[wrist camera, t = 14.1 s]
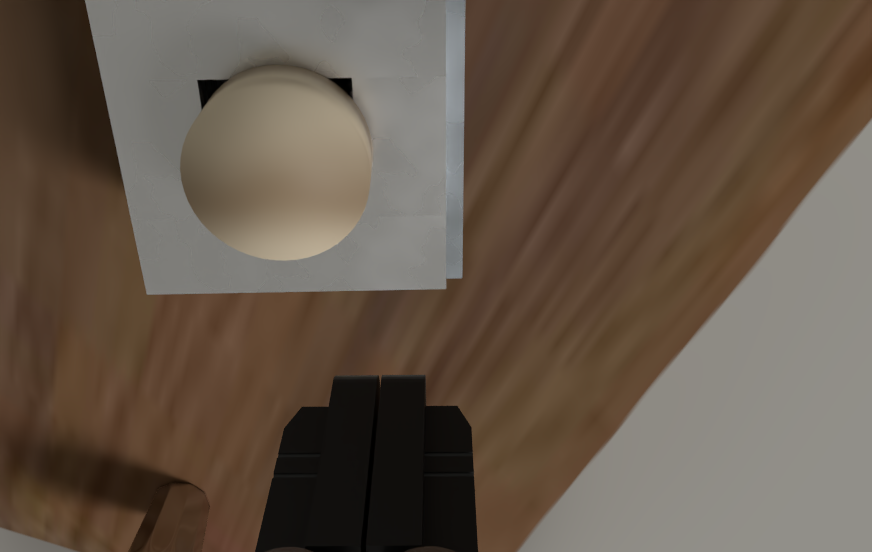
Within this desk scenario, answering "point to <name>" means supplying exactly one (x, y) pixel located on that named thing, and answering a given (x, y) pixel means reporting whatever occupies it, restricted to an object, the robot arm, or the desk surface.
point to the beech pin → (278, 163)
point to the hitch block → (326, 55)
